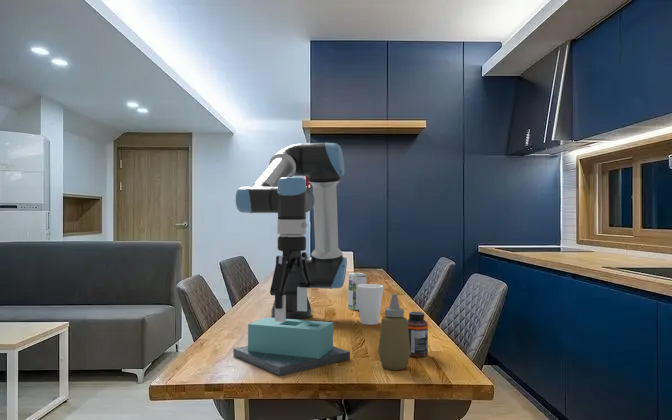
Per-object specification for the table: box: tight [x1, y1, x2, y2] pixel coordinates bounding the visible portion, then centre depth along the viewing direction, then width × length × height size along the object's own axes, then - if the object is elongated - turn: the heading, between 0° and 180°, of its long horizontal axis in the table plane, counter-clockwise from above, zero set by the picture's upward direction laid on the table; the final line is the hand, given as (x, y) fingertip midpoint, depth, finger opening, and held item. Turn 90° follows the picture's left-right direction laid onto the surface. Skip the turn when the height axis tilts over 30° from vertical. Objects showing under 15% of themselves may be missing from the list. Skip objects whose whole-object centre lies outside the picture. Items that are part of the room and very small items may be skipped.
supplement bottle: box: [407, 311, 429, 358], centre depth 136 cm, size 6×6×11 cm
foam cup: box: [356, 283, 384, 326], centre depth 177 cm, size 10×9×13 cm
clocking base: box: [232, 345, 351, 377], centre depth 132 cm, size 22×22×8 cm
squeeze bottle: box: [377, 293, 411, 371], centre depth 124 cm, size 8×8×18 cm
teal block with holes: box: [247, 316, 334, 359], centre depth 132 cm, size 20×10×7 cm, turn 70°
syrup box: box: [347, 272, 367, 311], centre depth 204 cm, size 6×6×14 cm
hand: (291, 316), depth 133 cm, fingers open, 13 cm apart
